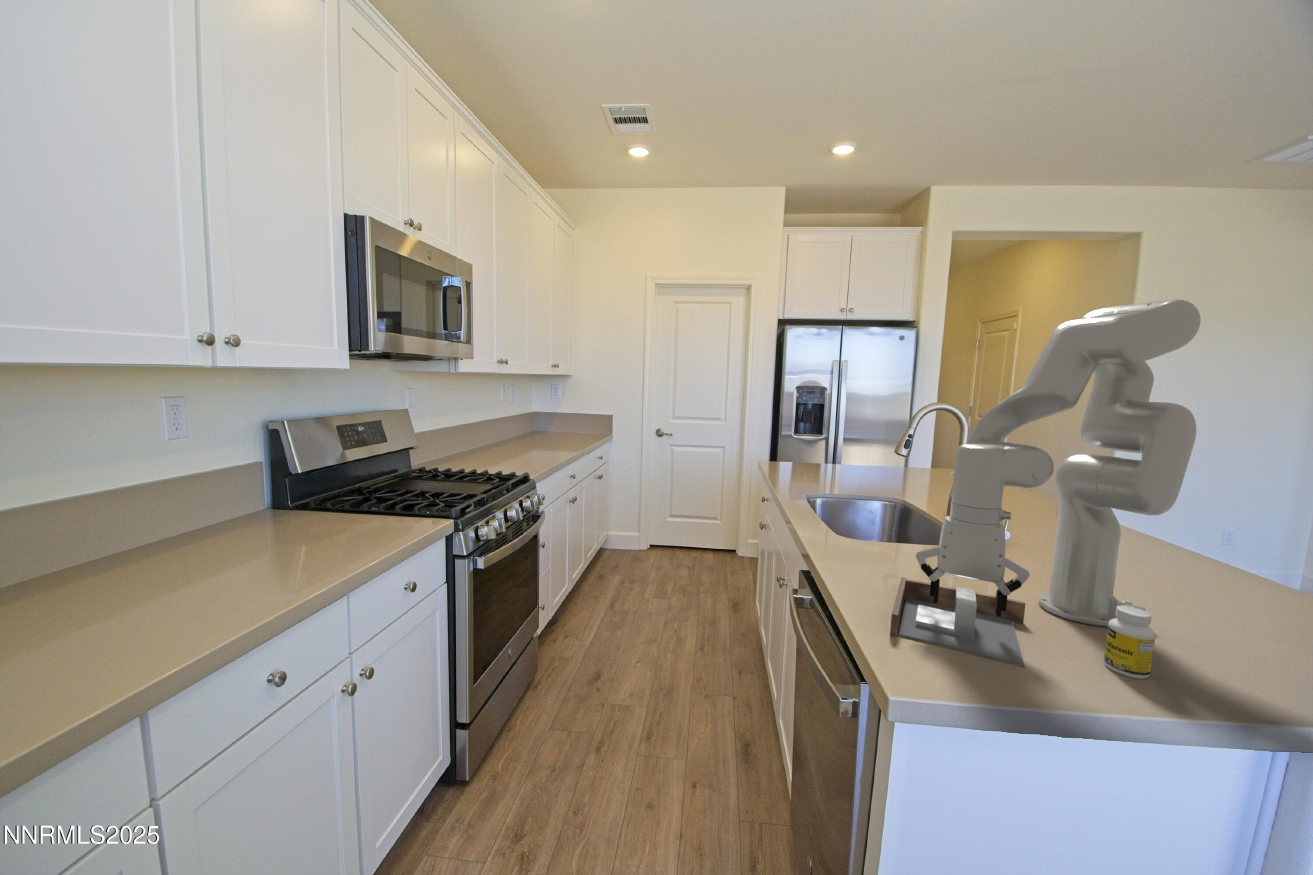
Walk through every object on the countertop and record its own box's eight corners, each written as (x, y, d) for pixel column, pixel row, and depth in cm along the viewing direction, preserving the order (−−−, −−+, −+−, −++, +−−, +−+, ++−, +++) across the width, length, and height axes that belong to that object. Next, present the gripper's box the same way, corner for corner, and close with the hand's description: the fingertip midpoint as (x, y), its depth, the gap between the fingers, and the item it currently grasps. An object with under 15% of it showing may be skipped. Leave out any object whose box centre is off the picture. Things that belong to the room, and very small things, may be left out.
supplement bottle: (1094, 660, 82) (1101, 603, 81) (1124, 660, 83) (1132, 602, 82) (1127, 680, 77) (1135, 618, 76) (1160, 679, 77) (1168, 618, 76)
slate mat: (1011, 622, 95) (1012, 620, 95) (1023, 666, 80) (1024, 664, 80) (906, 599, 104) (906, 597, 104) (898, 635, 89) (898, 633, 89)
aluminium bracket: (973, 639, 87) (976, 606, 87) (915, 625, 92) (918, 594, 91) (972, 621, 94) (975, 590, 94) (917, 609, 99) (920, 579, 98)
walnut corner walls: (1022, 620, 96) (1024, 600, 96) (1038, 672, 78) (1041, 648, 78) (899, 595, 106) (901, 576, 106) (889, 635, 89) (891, 613, 88)
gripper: (1032, 517, 88) (1021, 611, 90) (920, 503, 97) (913, 589, 99) (1038, 527, 82) (1027, 627, 84) (918, 511, 90) (911, 602, 92)
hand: (965, 606), depth 91 cm, fingers open, 9 cm apart
